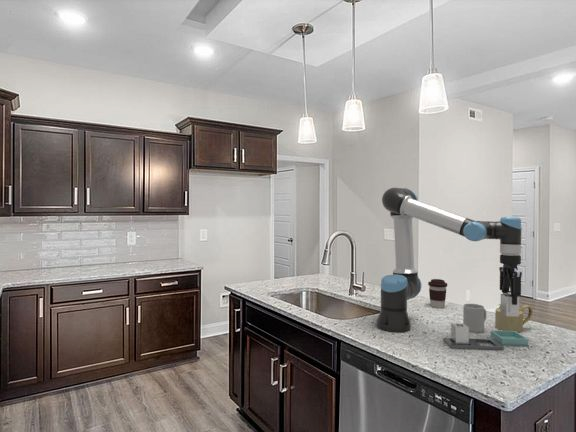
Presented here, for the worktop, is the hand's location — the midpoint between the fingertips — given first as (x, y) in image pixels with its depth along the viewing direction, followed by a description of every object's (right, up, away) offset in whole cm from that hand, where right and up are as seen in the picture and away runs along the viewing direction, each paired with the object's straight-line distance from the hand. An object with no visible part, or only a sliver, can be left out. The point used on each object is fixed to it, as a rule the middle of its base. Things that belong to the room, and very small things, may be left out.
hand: (509, 310), depth 158 cm
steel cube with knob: (0, -2, 0) cm, 2 cm away
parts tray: (0, -13, 0) cm, 13 cm away
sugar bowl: (+11, -13, +18) cm, 25 cm away
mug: (-6, -13, +16) cm, 21 cm away
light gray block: (-22, -13, -4) cm, 26 cm away
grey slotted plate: (-17, -13, -4) cm, 22 cm away
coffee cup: (-8, -12, +55) cm, 57 cm away
